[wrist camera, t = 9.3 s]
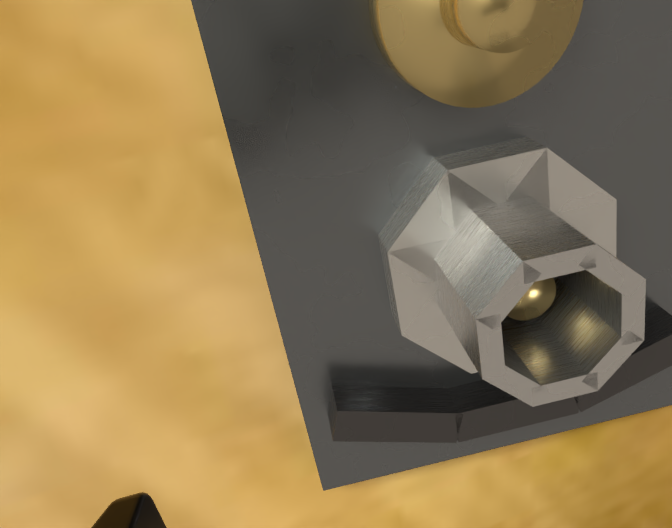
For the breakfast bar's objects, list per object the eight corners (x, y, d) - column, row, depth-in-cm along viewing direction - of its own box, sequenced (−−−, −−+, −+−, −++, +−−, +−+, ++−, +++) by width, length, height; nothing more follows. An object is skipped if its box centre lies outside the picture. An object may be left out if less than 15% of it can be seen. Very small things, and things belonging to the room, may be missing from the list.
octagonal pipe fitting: (591, 121, 18) (704, 165, 14) (593, 318, 21) (688, 408, 17) (367, 172, 18) (407, 234, 13) (400, 363, 21) (443, 468, 16)
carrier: (695, -246, 16) (837, -321, 12) (667, 382, 24) (745, 455, 20) (158, -137, 15) (129, -178, 12) (319, 467, 24) (333, 558, 20)
